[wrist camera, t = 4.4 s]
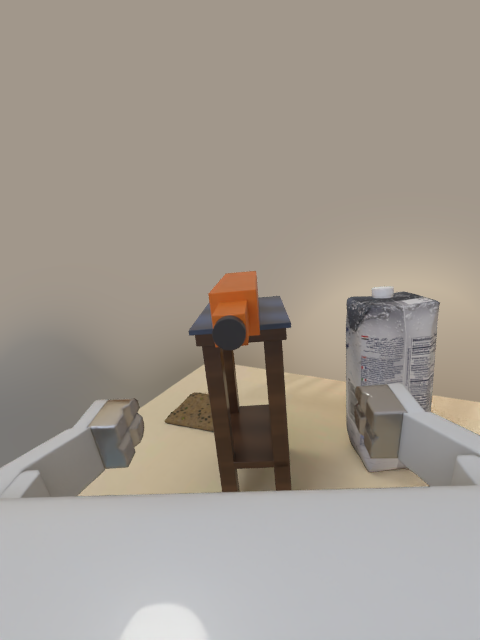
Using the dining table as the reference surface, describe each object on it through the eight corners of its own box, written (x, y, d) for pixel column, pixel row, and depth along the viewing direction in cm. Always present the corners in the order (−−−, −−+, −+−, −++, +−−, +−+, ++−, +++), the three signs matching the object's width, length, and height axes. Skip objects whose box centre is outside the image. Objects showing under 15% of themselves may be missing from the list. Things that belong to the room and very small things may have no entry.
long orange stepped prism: (261, 360, 22) (256, 303, 21) (203, 364, 22) (195, 308, 21) (258, 300, 43) (256, 270, 42) (228, 303, 44) (225, 273, 43)
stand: (301, 520, 38) (290, 322, 31) (217, 523, 39) (188, 330, 32) (289, 442, 52) (279, 295, 46) (227, 445, 53) (209, 301, 46)
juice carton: (435, 471, 43) (451, 289, 36) (364, 479, 43) (367, 298, 36) (401, 433, 52) (408, 280, 45) (342, 439, 52) (340, 287, 45)
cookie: (163, 422, 62) (162, 418, 62) (193, 394, 73) (193, 390, 72) (214, 431, 57) (213, 427, 57) (238, 399, 68) (237, 396, 68)
